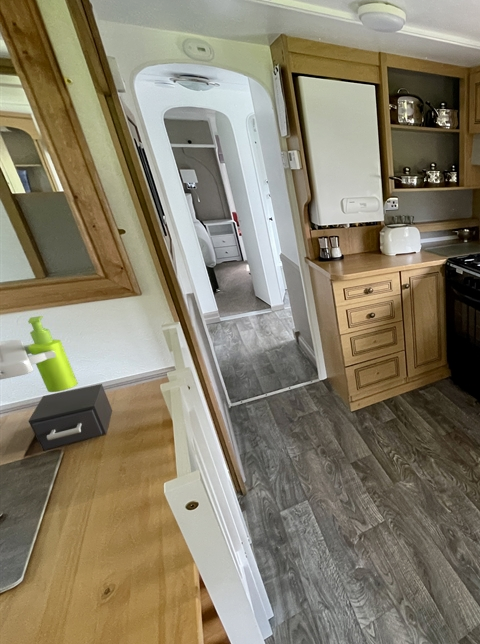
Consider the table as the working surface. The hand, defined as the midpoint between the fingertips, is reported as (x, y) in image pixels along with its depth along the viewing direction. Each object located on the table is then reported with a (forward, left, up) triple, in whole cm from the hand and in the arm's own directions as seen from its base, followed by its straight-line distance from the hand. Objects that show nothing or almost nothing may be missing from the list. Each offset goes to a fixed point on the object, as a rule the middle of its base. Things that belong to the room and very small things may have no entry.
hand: (53, 349), depth 101 cm
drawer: (-1, -5, -24) cm, 24 cm away
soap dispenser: (-1, 0, -11) cm, 11 cm away
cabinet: (-1, -1, -25) cm, 25 cm away
